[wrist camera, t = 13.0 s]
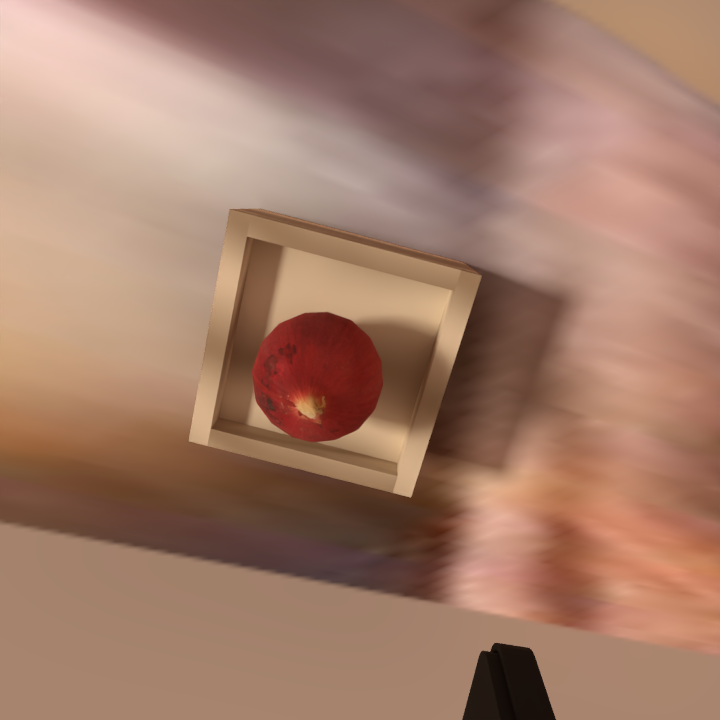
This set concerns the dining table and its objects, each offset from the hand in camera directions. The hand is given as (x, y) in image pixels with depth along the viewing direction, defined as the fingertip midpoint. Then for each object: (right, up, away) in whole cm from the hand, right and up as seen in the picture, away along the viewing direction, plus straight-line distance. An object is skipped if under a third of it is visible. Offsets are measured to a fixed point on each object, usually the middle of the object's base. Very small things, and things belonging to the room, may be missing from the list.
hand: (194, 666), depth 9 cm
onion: (+1, +5, +19) cm, 20 cm away
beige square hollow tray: (+1, +7, +24) cm, 25 cm away
